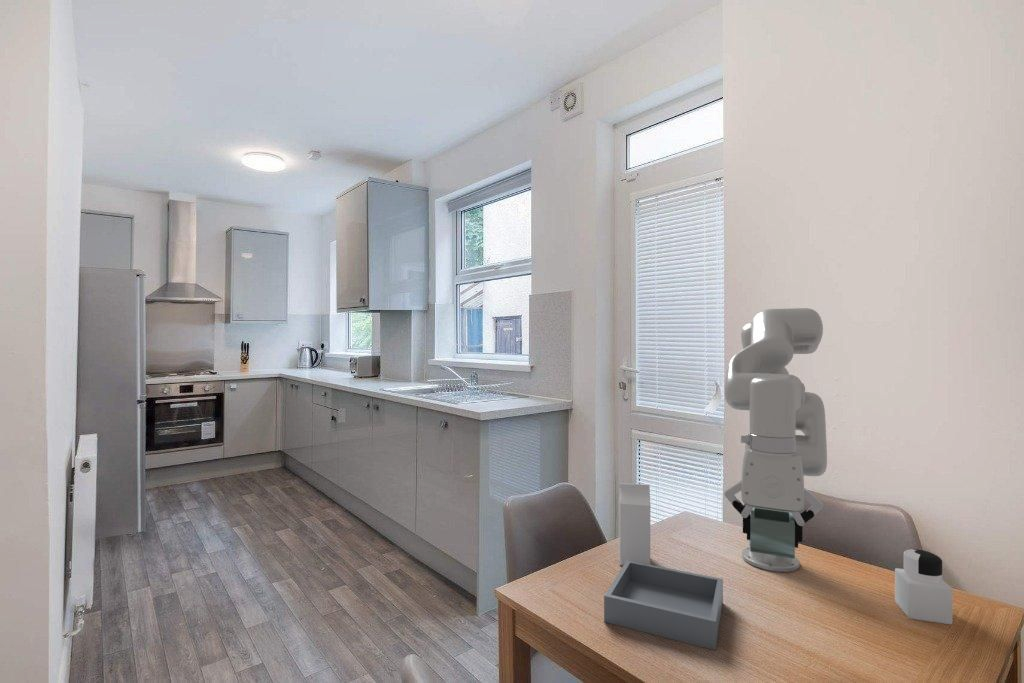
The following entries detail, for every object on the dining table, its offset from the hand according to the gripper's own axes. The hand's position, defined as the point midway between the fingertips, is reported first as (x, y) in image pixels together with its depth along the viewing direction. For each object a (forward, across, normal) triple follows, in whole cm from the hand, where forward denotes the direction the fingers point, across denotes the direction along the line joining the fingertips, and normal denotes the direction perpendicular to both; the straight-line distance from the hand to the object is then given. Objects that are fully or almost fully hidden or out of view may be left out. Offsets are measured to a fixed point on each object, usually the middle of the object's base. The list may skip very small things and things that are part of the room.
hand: (771, 540), depth 93 cm
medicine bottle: (+18, +27, +23) cm, 40 cm away
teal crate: (+1, 0, 0) cm, 1 cm away
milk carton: (+18, -30, +21) cm, 41 cm away
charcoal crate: (+18, -19, 0) cm, 26 cm away
